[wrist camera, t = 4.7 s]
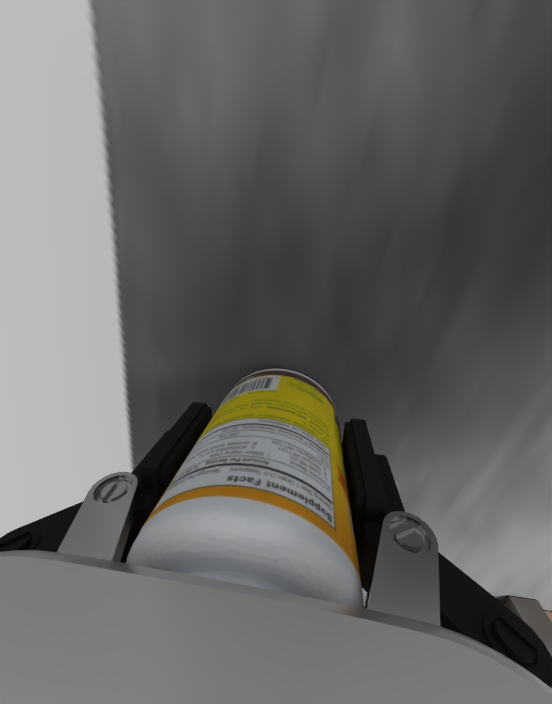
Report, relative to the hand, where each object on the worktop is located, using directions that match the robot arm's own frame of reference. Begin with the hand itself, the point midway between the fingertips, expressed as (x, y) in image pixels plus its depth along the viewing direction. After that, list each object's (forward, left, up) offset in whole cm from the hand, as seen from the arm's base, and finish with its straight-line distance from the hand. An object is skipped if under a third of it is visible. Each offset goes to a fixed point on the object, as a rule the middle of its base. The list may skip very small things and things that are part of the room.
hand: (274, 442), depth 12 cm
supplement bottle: (0, 0, -2) cm, 2 cm away
